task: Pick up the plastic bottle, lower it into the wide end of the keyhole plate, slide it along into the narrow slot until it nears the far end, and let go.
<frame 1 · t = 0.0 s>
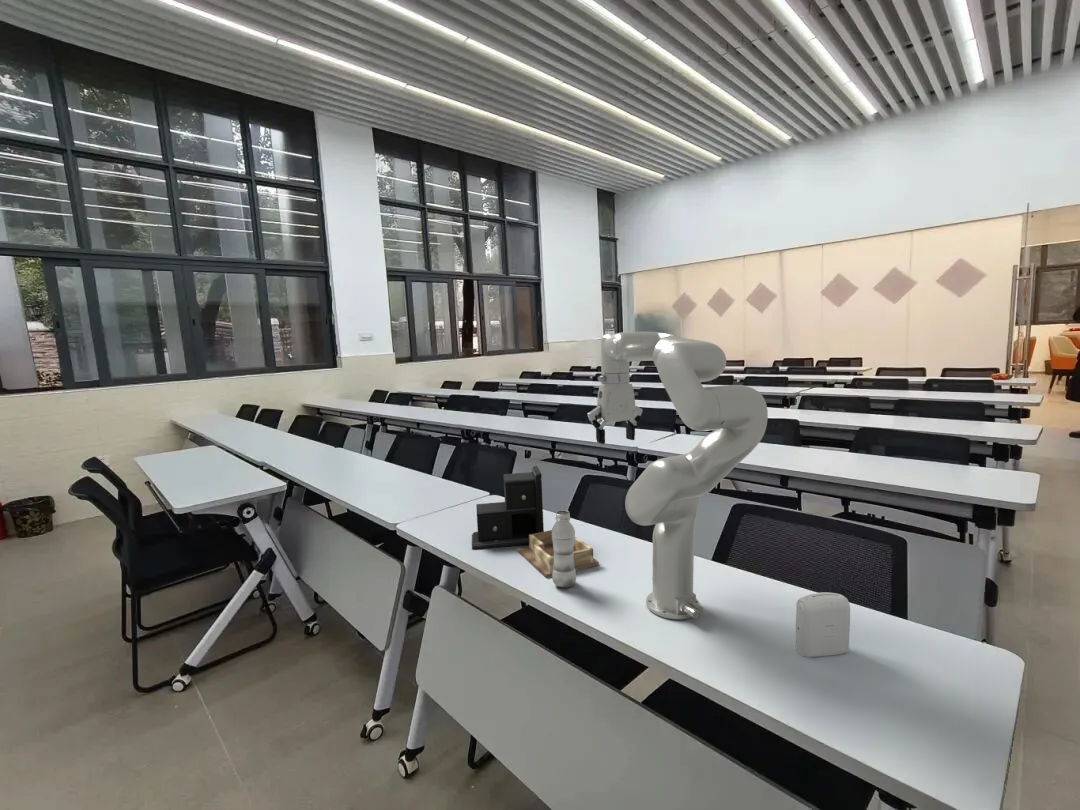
hand: (615, 441, 139), 37 cm above the table, tool pointing down, fingers open, 9 cm apart
photo printer: (821, 652, 103), on the table
black drawer cabinet: (507, 541, 166), on the table
keyhole plate: (556, 558, 151), on the table
plastic bottle: (564, 585, 134), on the table
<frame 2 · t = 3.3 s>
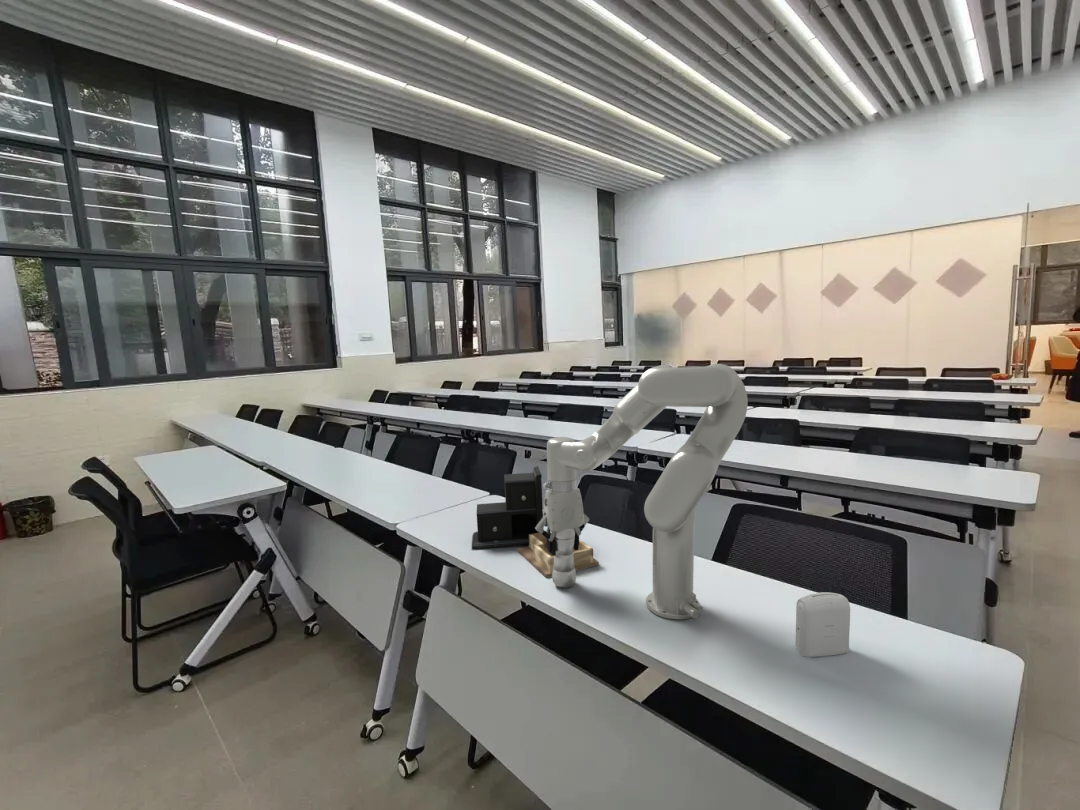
hand: (563, 550, 133), 10 cm above the table, tool pointing down, fingers closed on plastic bottle, 6 cm apart
plastic bottle: (564, 585, 134), on the table, touching gripper
everything else where it was.
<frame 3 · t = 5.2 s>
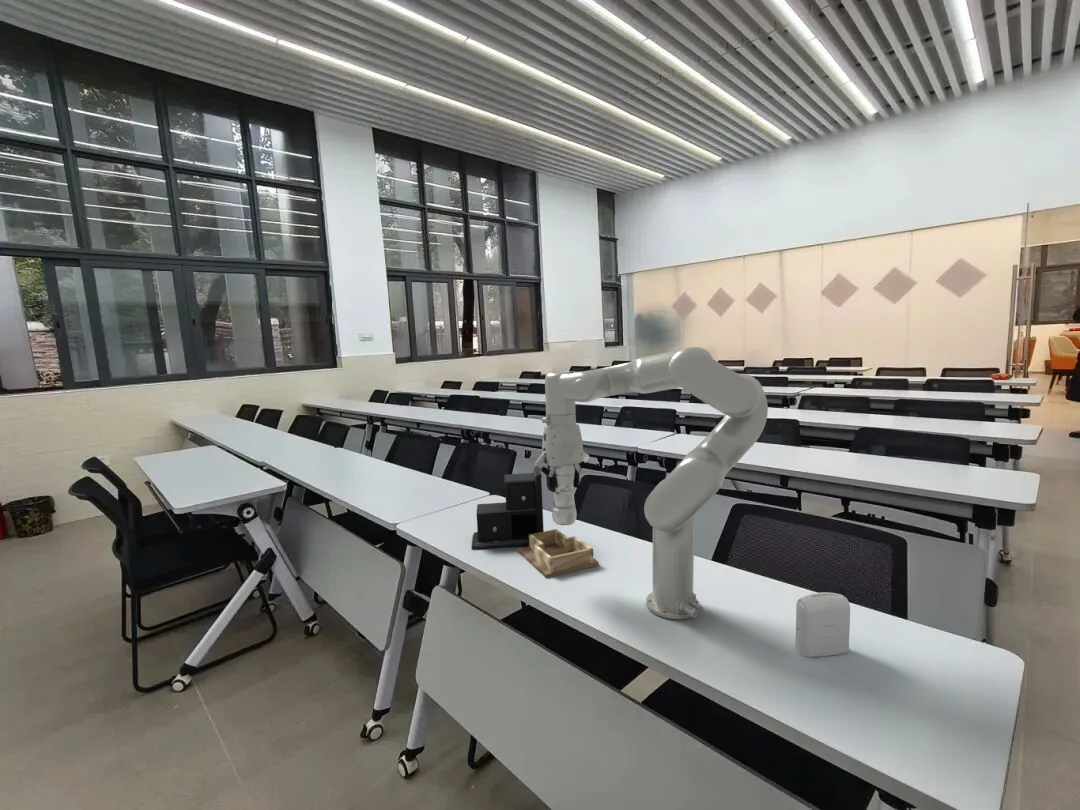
hand: (563, 488, 131), 27 cm above the table, tool pointing down, fingers closed on plastic bottle, 6 cm apart
plastic bottle: (564, 524, 132), point 17 cm above the table, touching gripper
everything else where it was.
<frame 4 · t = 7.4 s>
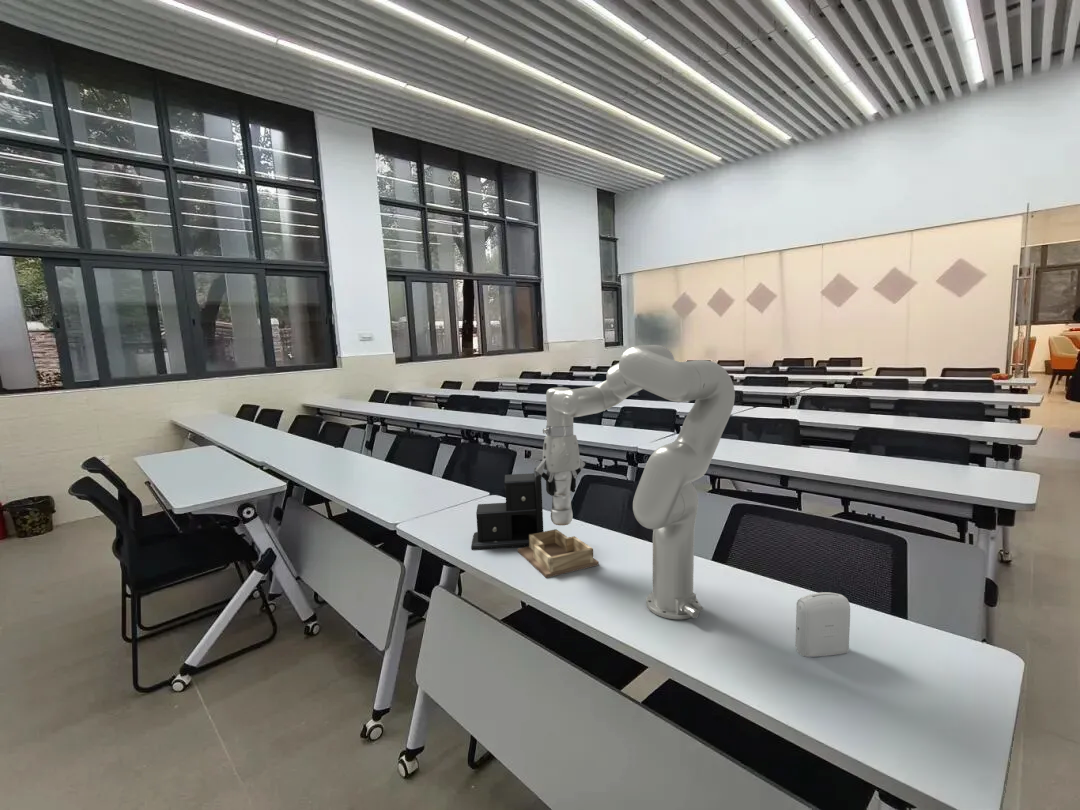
hand: (561, 492, 145), 21 cm above the table, tool pointing down, fingers closed on plastic bottle, 6 cm apart
plastic bottle: (561, 524, 146), point 12 cm above the table, touching gripper
everything else where it was.
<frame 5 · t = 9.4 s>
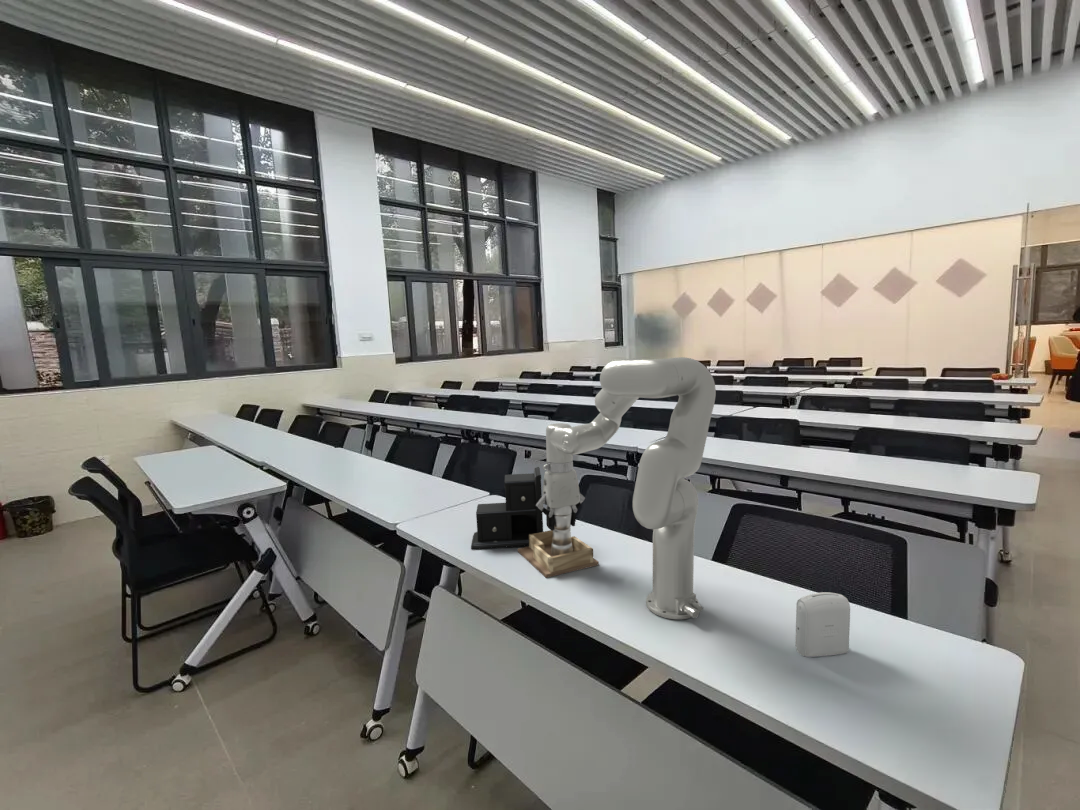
hand: (561, 526, 147), 11 cm above the table, tool pointing down, fingers closed on plastic bottle, 6 cm apart
plastic bottle: (562, 558, 148), point 1 cm above the table, touching gripper
everything else where it was.
when the fingers open (11 cm above the table, at t = 11.4 s): plastic bottle stays where it is, resting on keyhole plate.
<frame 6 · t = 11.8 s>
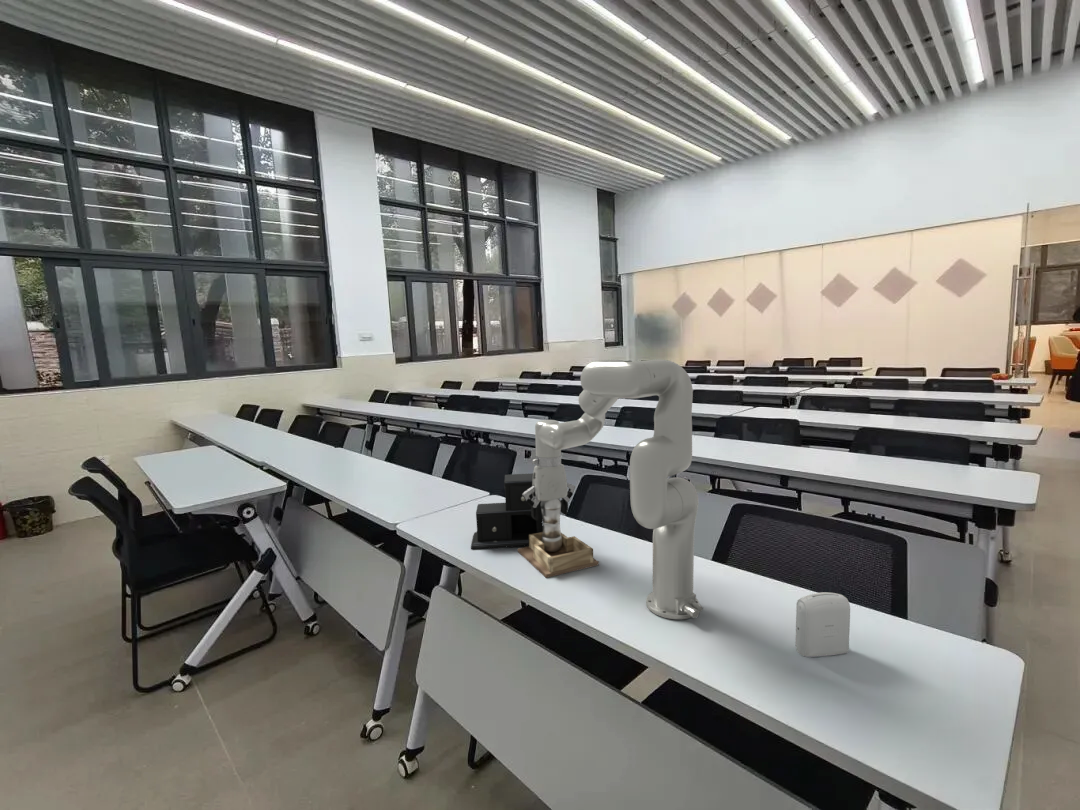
hand: (549, 516, 153), 12 cm above the table, tool pointing down, fingers open, 9 cm apart
plastic bottle: (552, 550, 155), point 1 cm above the table, touching keyhole plate
everything else where it was.
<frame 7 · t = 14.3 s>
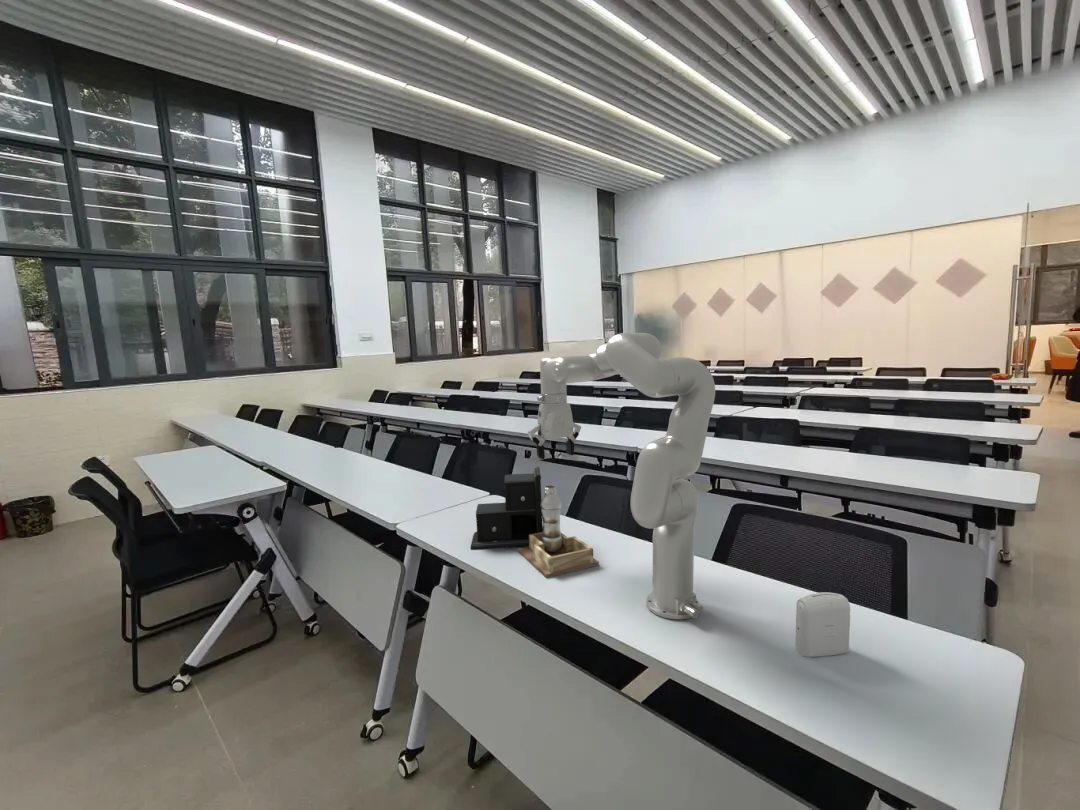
hand: (555, 456, 150), 31 cm above the table, tool pointing down, fingers open, 9 cm apart
nothing on the table moved.
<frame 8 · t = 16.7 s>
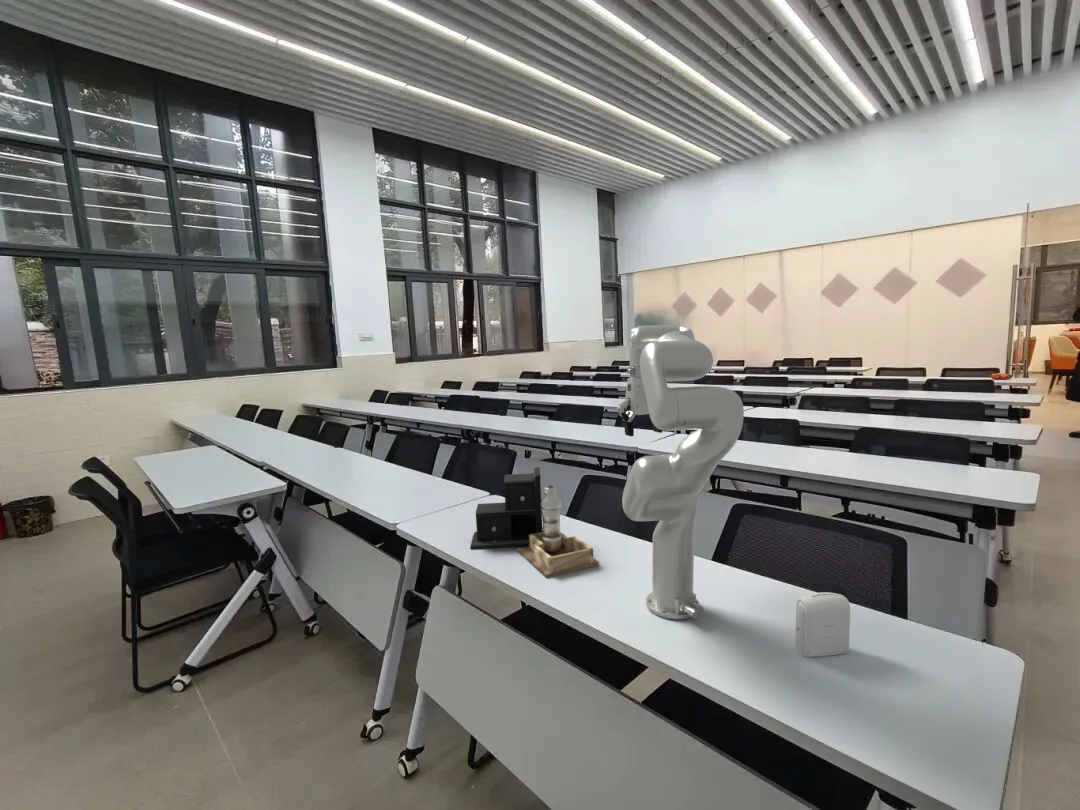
hand: (643, 433, 141), 38 cm above the table, tool pointing down, fingers open, 9 cm apart
nothing on the table moved.
at the end: plastic bottle 0.5 cm from the target spot on the keyhole plate, point 0.8 cm above the keyhole plate's base; plastic bottle tilted 0°; the gripper is holding nothing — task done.
